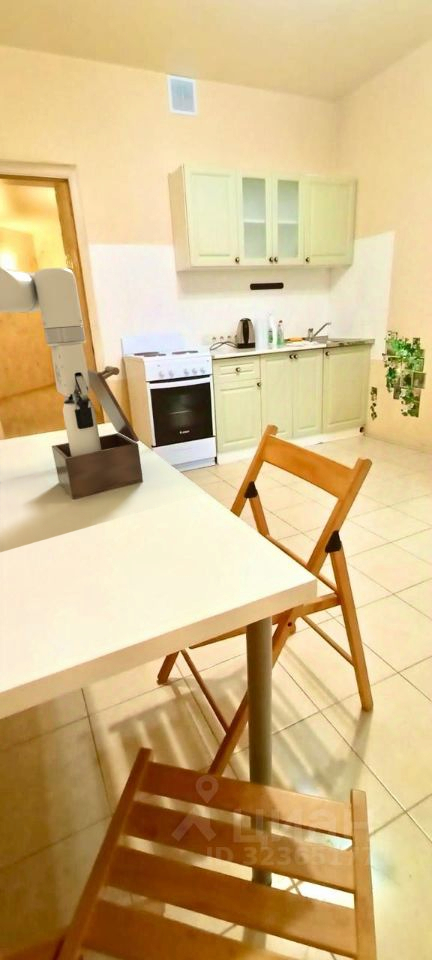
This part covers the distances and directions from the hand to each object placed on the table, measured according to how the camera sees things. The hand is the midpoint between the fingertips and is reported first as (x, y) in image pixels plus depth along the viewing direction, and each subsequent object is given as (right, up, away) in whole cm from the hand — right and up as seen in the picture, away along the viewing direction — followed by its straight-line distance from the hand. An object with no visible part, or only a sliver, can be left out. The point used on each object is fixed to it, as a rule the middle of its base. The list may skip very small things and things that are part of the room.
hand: (81, 424), depth 95 cm
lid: (+5, +4, +2) cm, 7 cm away
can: (+1, -7, +3) cm, 7 cm away
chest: (+3, -12, +6) cm, 14 cm away
